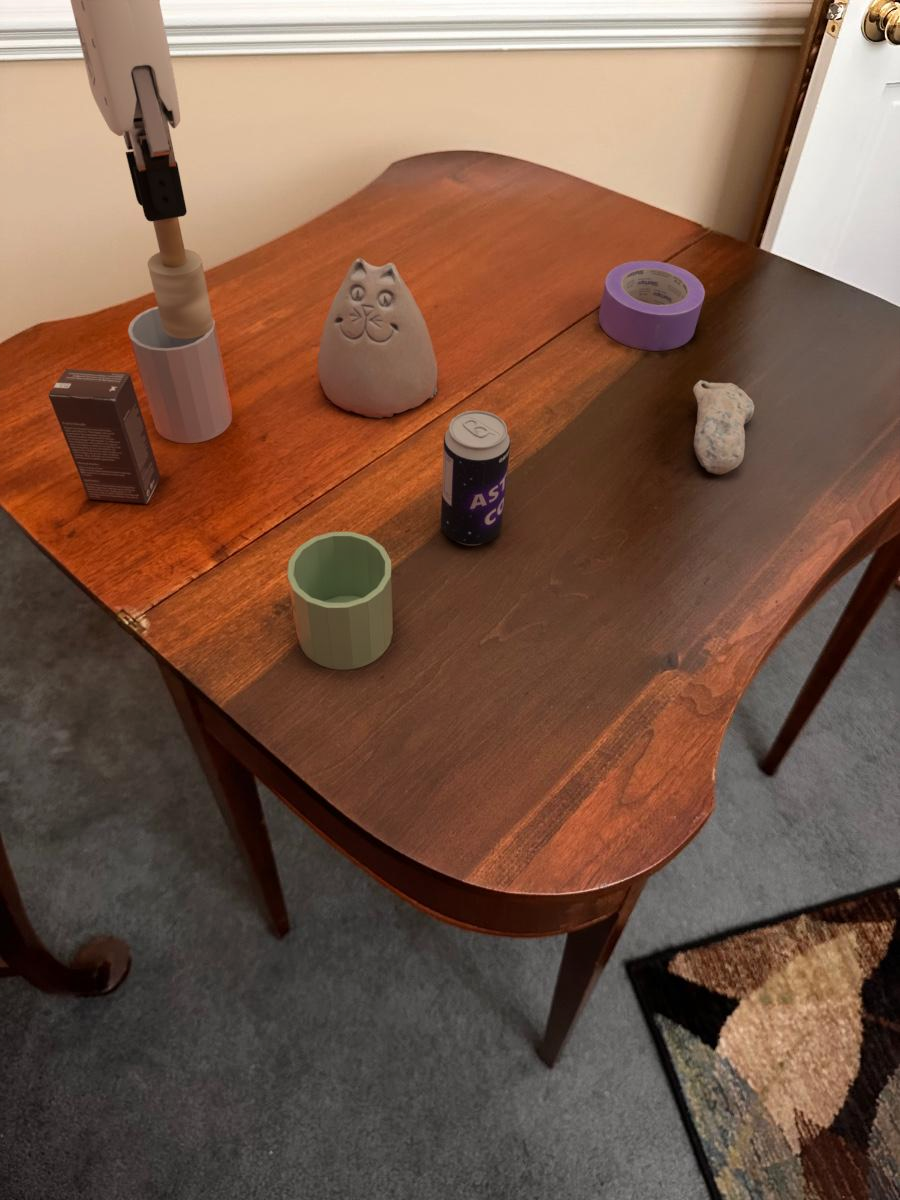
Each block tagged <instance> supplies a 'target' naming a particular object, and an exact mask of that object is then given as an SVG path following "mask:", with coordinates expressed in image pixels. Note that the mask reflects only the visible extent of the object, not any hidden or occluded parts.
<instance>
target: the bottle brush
mask: <svg viewBox="0 0 900 1200" xmlns="http://www.w3.org/2000/svg"><path fill="white" fill-rule="evenodd" d="M139 138H140V142H142V140H143V139H146V138H147V137H146V135H145V136H139ZM141 145H142V143H141ZM152 223H153V228H154V232H155V237H156V242H157V246H158V250H159V252H156V253H155V254H153V255H152V256H151V257H150V258H149V259H148V261H147V269H148V272H149V276H150V280H151V285H152V289H153V292H154V298H155V302H156V305H157V306H158V310H159V314H160V318H161V322H162V326H163V330H164V331H165V332H166V333H167V334H168V335H169V336H172V337H175V338H180V339H190V338H196V337H199V336H202V335H204V334H206V333H208V332H209V331H210V330H211V329H212V327H213V324H214V322H213V319H214V317H213V312H212V311H213V310H212V306H211V302H210V297H209V292H208V285H207V281H206V276H205V271H204V265H203V259H202V257H201V256H200V254H199V253H197V252H196V251H193V250H190V249H185V245H184V239H183V234H182V230H181V224H180V220H179V217H175V218H169V219H163V220H157V221H152Z"/></svg>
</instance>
